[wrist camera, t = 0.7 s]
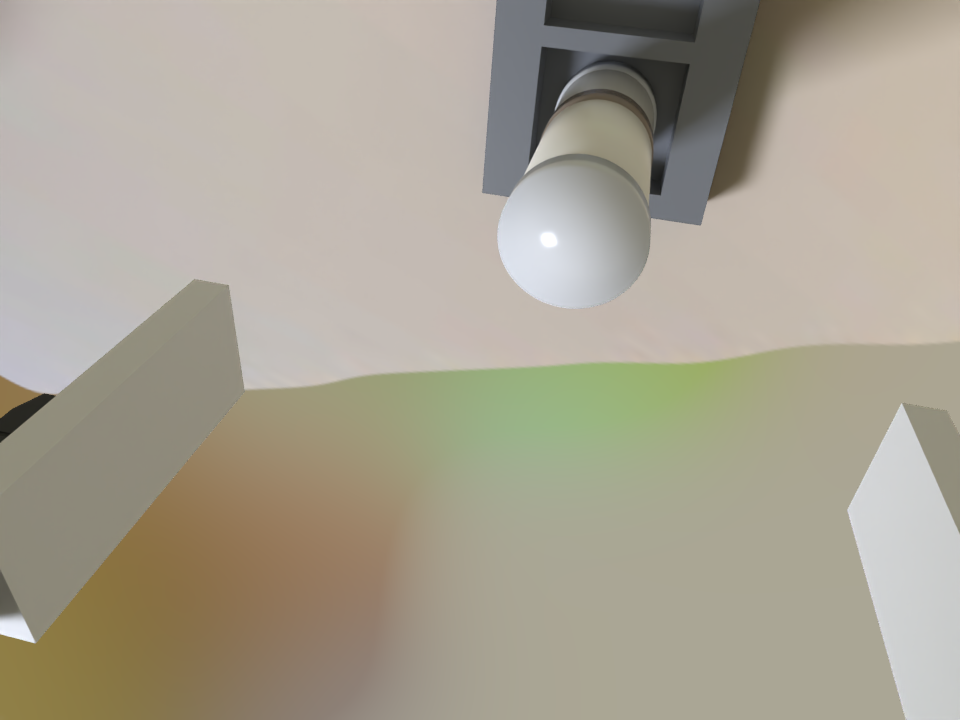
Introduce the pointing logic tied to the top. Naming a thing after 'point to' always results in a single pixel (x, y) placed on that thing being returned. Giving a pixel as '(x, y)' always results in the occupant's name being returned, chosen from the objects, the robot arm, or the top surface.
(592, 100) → the cylinder
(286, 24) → the top surface
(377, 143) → the top surface
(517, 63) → the fuse holder
